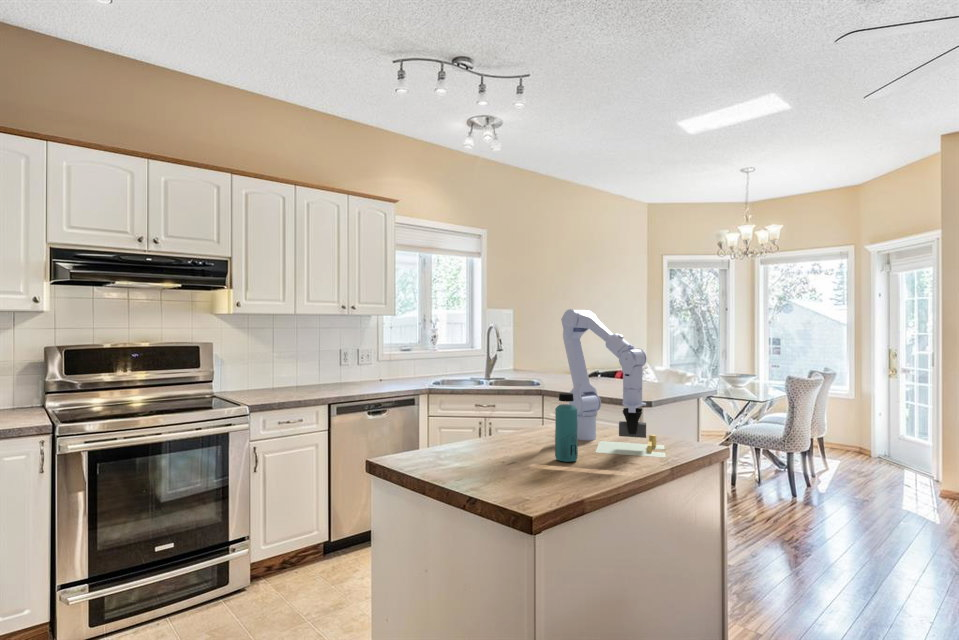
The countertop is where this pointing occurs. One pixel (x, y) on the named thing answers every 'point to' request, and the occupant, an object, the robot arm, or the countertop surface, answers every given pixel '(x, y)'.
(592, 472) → the countertop surface
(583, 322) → the robot arm
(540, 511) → the countertop surface
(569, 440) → the beverage bottle
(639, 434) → the tall gray prism
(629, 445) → the pale green u-shaped slab
